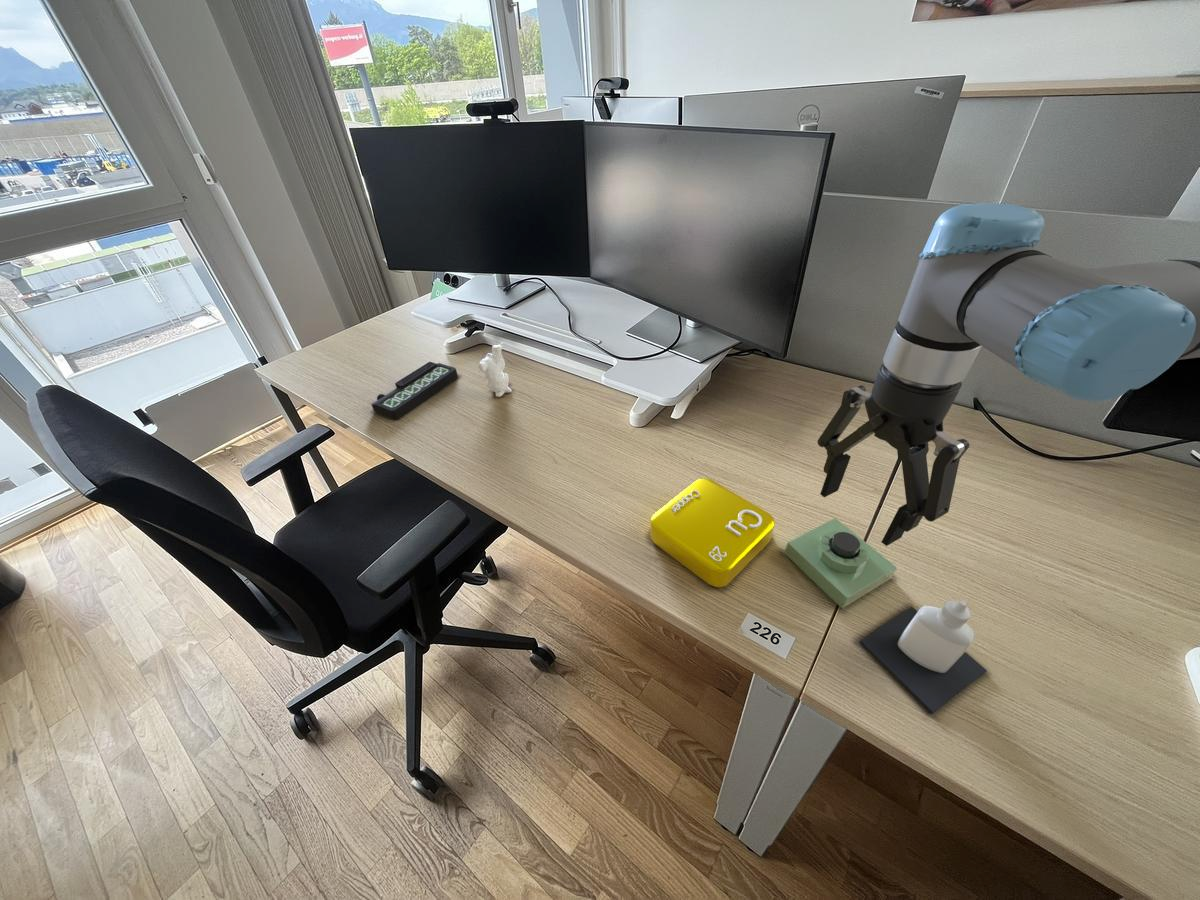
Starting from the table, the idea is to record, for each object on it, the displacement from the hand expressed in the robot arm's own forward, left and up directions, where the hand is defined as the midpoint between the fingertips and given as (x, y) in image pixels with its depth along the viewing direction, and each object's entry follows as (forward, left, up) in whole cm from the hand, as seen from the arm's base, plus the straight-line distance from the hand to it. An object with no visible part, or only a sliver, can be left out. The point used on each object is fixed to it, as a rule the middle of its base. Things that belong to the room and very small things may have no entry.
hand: (858, 514), depth 63 cm
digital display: (+88, +48, -12) cm, 101 cm away
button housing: (0, 0, -12) cm, 12 cm away
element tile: (+14, +13, -12) cm, 22 cm away
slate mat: (-15, +2, -12) cm, 19 cm away
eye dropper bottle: (-15, +2, -11) cm, 19 cm away
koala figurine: (+76, +29, -12) cm, 82 cm away
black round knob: (0, 0, -7) cm, 7 cm away
